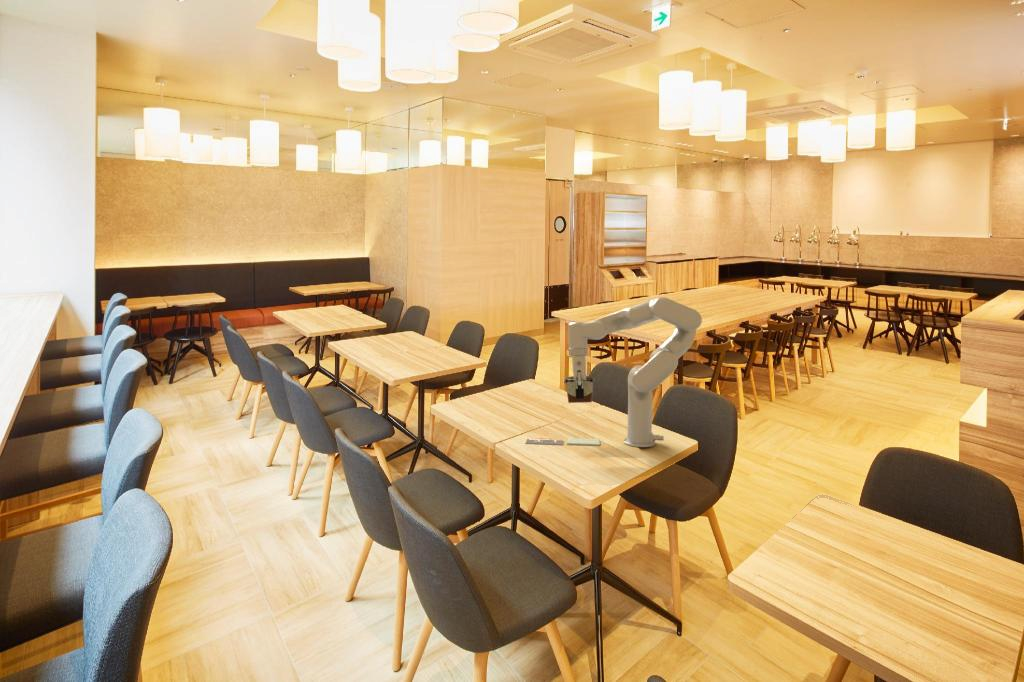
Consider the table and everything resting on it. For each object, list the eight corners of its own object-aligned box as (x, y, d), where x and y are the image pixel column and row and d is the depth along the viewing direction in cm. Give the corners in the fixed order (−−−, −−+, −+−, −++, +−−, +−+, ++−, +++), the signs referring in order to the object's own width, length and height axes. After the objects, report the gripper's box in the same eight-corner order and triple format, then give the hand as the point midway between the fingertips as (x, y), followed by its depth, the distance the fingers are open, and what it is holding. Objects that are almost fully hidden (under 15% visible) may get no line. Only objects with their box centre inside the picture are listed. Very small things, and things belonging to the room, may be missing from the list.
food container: (595, 399, 227) (594, 375, 226) (595, 402, 220) (594, 377, 220) (564, 400, 228) (563, 376, 227) (564, 403, 222) (563, 378, 221)
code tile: (563, 438, 230) (563, 437, 230) (563, 445, 219) (563, 444, 219) (527, 437, 232) (527, 436, 232) (525, 443, 221) (525, 443, 221)
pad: (598, 438, 230) (598, 437, 230) (599, 445, 219) (600, 444, 219) (567, 437, 231) (567, 436, 231) (567, 444, 220) (567, 443, 220)
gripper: (588, 354, 214) (589, 400, 215) (587, 350, 230) (588, 393, 232) (568, 354, 214) (570, 401, 215) (568, 350, 231) (570, 393, 232)
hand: (579, 396), depth 224 cm, fingers closed on food container, 5 cm apart
